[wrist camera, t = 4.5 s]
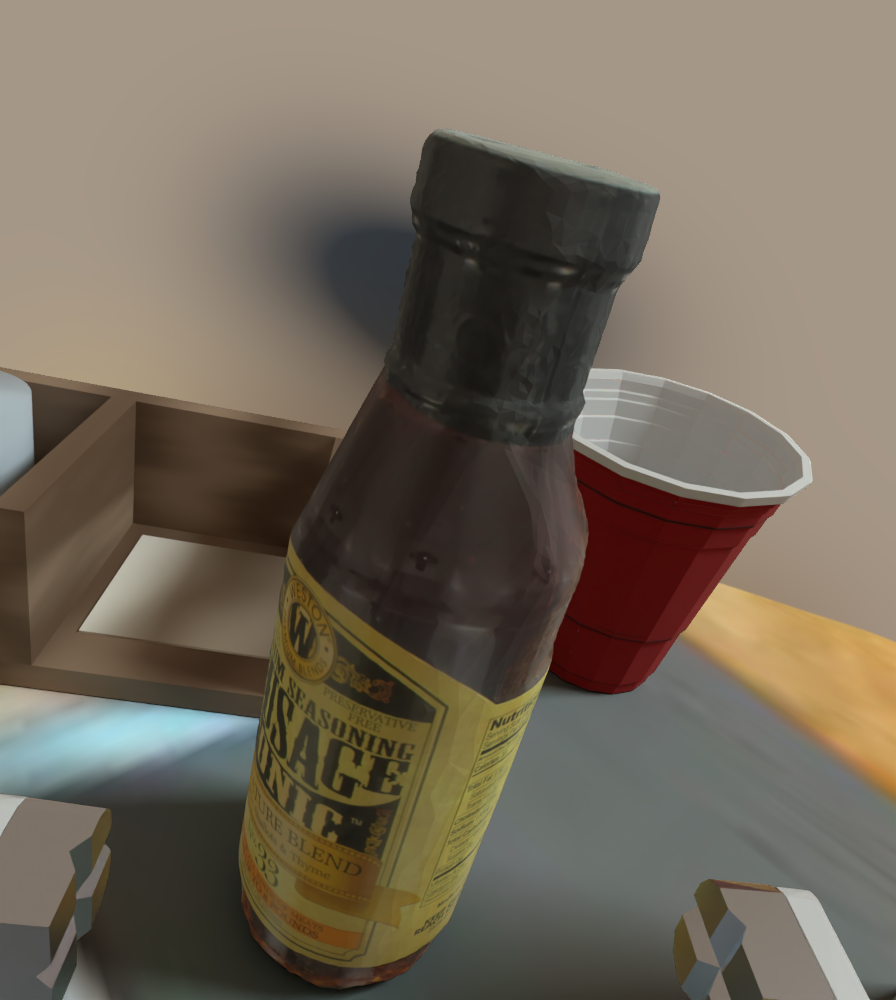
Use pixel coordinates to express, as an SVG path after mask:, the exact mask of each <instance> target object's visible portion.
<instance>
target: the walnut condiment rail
mask: <svg viewBox="0 0 896 1000" xmlns="http://www.w3.org/2000/svg"><path fill="white" fill-rule="evenodd" d="M0 371H2V372H5V373H8V374H11V375H13V376H16V377H18V378H19V379H21V380H23V381H24V382H25V383H27V385H28V386H29V387H30V389H31V393H32V416H33V440H34V465H35V466H34V467H33V468H32V469H30V470H29V471H28V472H27V473H26V474H25V475H24V476H23V477H21V478H20V479H19V480H18V481H17V482H16V483H15V484H14V485H13V486H11V487H10V488H9V489H8V490H7V491H6V492H5V493H4V494H2V495H1V496H0V684H7V685H15V686H23V687H30V688H38V689H45V690H53V691H60V692H68V693H76V694H83V695H91V696H98V697H106V698H114V699H121V700H129V701H136V702H144V703H152V704H159V705H167V706H174V707H182V708H189V709H197V710H205V711H212V712H220V713H227V714H235V715H243V716H250V717H258V718H260V714H261V709H262V702H263V696H264V688H265V679H266V676H267V672H268V663H269V659H270V650H271V646H272V641H273V636H274V628H275V623H276V618H277V613H278V605H279V596H280V590H281V586H282V582H283V575H284V565H285V561H286V557H287V552H288V546H289V540H290V534H291V531H292V529H293V527H294V526H295V524H296V522H297V520H298V518H299V517H300V515H301V513H302V511H303V509H304V508H305V506H306V504H307V502H308V501H309V499H310V497H311V495H312V493H313V492H314V490H315V488H316V486H317V484H318V483H319V481H320V479H321V477H322V476H323V474H324V472H325V470H326V468H327V467H328V465H329V463H330V461H331V459H332V458H333V456H334V454H335V452H336V451H337V449H338V447H339V445H340V443H341V442H342V440H343V438H344V436H345V434H346V433H347V431H346V430H341V429H335V428H330V427H324V426H319V425H313V424H308V423H302V422H297V421H291V420H285V419H280V418H275V417H269V416H264V415H258V414H253V413H248V412H241V411H236V410H231V409H226V408H220V407H215V406H209V405H203V404H198V403H192V402H187V401H182V400H176V399H170V398H165V397H159V396H154V395H148V394H143V393H138V392H132V391H127V390H122V389H116V388H111V387H105V386H100V385H94V384H89V383H83V382H78V381H72V380H67V379H61V378H56V377H50V376H45V375H40V374H34V373H28V372H23V371H18V370H12V369H7V368H1V367H0Z"/></svg>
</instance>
